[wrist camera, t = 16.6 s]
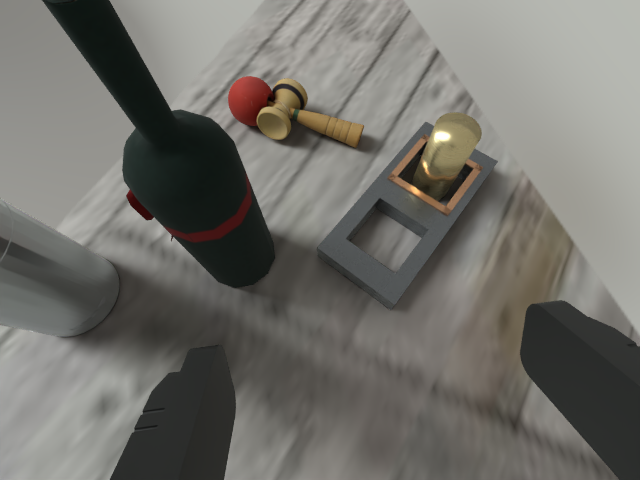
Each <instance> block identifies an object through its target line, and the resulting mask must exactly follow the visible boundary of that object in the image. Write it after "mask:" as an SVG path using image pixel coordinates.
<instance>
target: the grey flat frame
mask: <svg viewBox="0 0 640 480" xmlns="http://www.w3.org/2000/svg"><path fill="white" fill-rule="evenodd" d="M433 128H434V126H433V125H431V124H429V123H427V122H425V123H424V124H423V125H422V127H421V128H420V129H419V130H418V131H417V132H416V134H415V135H414V136H413V137H412V138H411V139H410V140H409V142H408V143H407V144H406V145H405V146H404V147H403V149H402V150H401V151H400V152H399V153H398V154H397V156H396V157H395V158H394V159H393V160H392V161H391V163H390V164H389V165H388V166H387V167H386V168H385V170H384V171H383V172H382V173H381V174H380V175H379V177H378V178H377V179H376V180H375V181H374V182H373V183H372V185H371V186H370V187H369V188H368V189H367V190H366V192H365V193H364V194H363V195H362V196H361V197H360V199H359V200H358V201H357V202H356V203H355V204H354V206H353V207H352V208H351V209H350V210H349V211H348V213H347V214H346V215H345V216H344V217H343V218H342V220H341V221H340V222H339V223H338V224H337V225H336V226H335V228H334V229H333V230H332V231H331V232H330V233H329V235H328V236H327V237H326V238H325V239H324V240H323V242H322V243H321V244H320V245H319V246H318V247H317V251H318V256H319V257H320V258H321V259H323V260H324V261H325V262H327V263H328V264H329V265H331V266H332V267H333V268H335V269H336V270H338V271H339V272H340V273H342V274H343V275H344V276H346V277H347V278H348V279H350V280H351V281H352V282H354V283H355V284H356V285H358V286H359V287H360V288H362V289H363V290H364V291H366V292H367V293H368V294H370V295H371V296H372V297H374V298H375V299H376V300H378V301H379V302H380V303H382V304H383V305H385V306H386V307H387V308H389V309H390V310H391V309H392V308H393V307H394V305H395V304H396V303H397V301H398V300H399V298H400V297H401V296H402V294H403V293H404V292H405V290H406V289H407V287H408V286H409V285H410V283H411V282H412V280H413V279H414V278H415V276H416V275H417V273H418V272H419V271H420V269H421V268H422V266H423V265H424V264H425V262H426V261H427V260H428V258H429V257H430V255H431V254H432V253H433V251H434V250H435V248H436V247H437V246H438V244H439V243H440V241H441V240H442V239H443V237H444V236H445V234H446V233H447V232H448V230H449V229H450V227H451V226H452V225H453V223H454V222H455V221H456V219H457V218H458V216H459V215H460V214H461V212H462V211H463V209H464V208H465V207H466V205H467V204H468V202H469V201H470V200H471V198H472V197H473V195H474V194H475V193H476V191H477V190H478V189H479V187H480V186H481V184H482V183H483V182H484V180H485V179H486V177H487V176H488V175H489V173H490V172H491V170H492V169H493V168H494V166H495V165H496V163H497V162H498V161H496V160H494V159H492V158H490V157H489V156H487V155H485V154H483V153H481V152H480V151H478V150H476V149H474V150H473V152H472V153H471V155H470V157H469V158H468V160H467V161H466V163H465V165H464V166H463V168H462V169H461V171H460V173H459V174H458V177H460V178H461V179H463V180H465V181H464V182H463V184H462V185H461V187H460V188H459V189H458V191H457V192H456V193H455V195H454V196H453V197H452V199H451V200H450V201H449V203H448V204H447V205H446V206H444V205H443V204H441V203H439V202H438V201H436V200H434V199H433V198H431V197H430V196H428V195H426V194H425V193H423V192H422V191H420V190H418V189H417V188H415V187H413V186H412V185H410V184H409V183H407V182H405V181H404V180H402V179H401V178H402V177H403V176H404V175H405V174H406V172H407V171H408V170H409V169H410V167H411V166H412V165H413V164H414V163H415V161H416V160H417V159H418V158H419V157H420V155H423V153H424V150H425V148H426V145H427V143H428V140H429V138H430V136H431V133H432V131H433ZM376 209H379V210H380V211H382V212H383V213H385V214H386V215H388V216H389V217H391V218H392V219H394V220H396V221H397V222H399V223H400V224H402V225H403V226H405V227H406V228H408V229H409V230H411V231H412V232H414V233H415V234H417V235H418V236H420V237H421V238H422V239H421V240H420V242H419V243H418V244H417V246H416V247H415V248H414V250H413V251H412V253H411V254H410V255H409V257H408V258H407V259H406V261H405V262H404V263H403V265H402V266H401V267H400V269H399V270H398V271H397V273H396V274H395V273H394V272H392V271H391V270H389V269H388V268H387V267H385V266H384V265H382V264H381V263H379V262H378V261H377V260H375V259H374V258H372V257H371V256H370V255H368V254H367V253H365V252H364V251H363V250H361V249H360V248H358V247H357V246H355V245H354V244H353V243H351V242H350V240H351V239H352V237H353V236H354V235H355V234H356V233H357V231H358V230H359V229H360V228H361V227H362V225H363V224H364V223H365V222H366V221H367V219H368V218H369V217H370V216H371V215H372V213H373V212H374V211H375V210H376Z"/></svg>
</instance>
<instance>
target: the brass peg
mask: <svg viewBox="0 0 640 480" xmlns="http://www.w3.org/2000/svg"><path fill="white" fill-rule="evenodd" d="M481 135H482V132H481V128H480V126H479V124H478V123H477V122H476V121H475V120H474V119H473V118H472V117H470V116H468V115H466V114H462V113H448V114H445V115H443V116H441V117H440V118H439V119H438V120H437V122H436V124H435V126H434V128H433V131H432V133H431V136H430V138H429V140H428V143H427V145H426V148H425V150H424V153H423V155H422V157H421V160H420V162H419V165H418V167H417V169H416V172H415V174H414V177H413V179H412V183H411V185H412V186H413V187H415V188H417V189H418V190H420V191H422V192H423V193H425V194H426V195H428V196H430V197H431V198H433V199H434V200H436V201H438V200H440V199H442V198H443V197H444V196H445V195H446V194H447V192H448V190H449V189H450V187H451V186H452V184H453V182H454V181H455V179H456V178H457V176H458V174H459V173H460V171H461V169H462V168H463V166H464V165H465V163H466V161H467V160H468V158H469V157H470V155H471V153H472V152H473V150H474V149H475V147H476V145H477V144H478V142H479V140H480V139H481Z"/></svg>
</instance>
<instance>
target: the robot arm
mask: <svg viewBox="0 0 640 480" xmlns="http://www.w3.org/2000/svg"><path fill="white" fill-rule="evenodd" d="M118 292H119V277H118V274H117V271H116V269H115V268H114V266H113V265H112V264H111V263H110V262H109V261H108V260H106V259H104V258H103V257H101V256H99V255H97V254H96V253H94V252H92V251H91V250H89V249H87V248H86V247H84V246H82V245H81V244H79V243H77V242H75V241H74V240H72V239H70V238H69V237H67V236H65V235H63V234H62V233H60V232H58V231H56V230H55V229H53V228H51V227H50V226H48V225H46V224H44V223H43V222H41V221H39V220H37V219H36V218H34V217H32V216H31V215H29V214H27V213H25V212H24V211H22V210H20V209H18V208H17V207H15V206H13V205H11V204H10V203H8V202H6V201H5V200H3V199H1V198H0V325H2V326H7V327H13V328H18V329H23V330H28V331H33V332H38V333H43V334H49V335H54V336H62V337H69V336H75V335H79V334H81V333H84V332H86V331H88V330H90V329H92V328H93V327H95V326H96V325H97V324H99V323H100V322H101V321H102V320H103V319H104V318H105V317H106V316H107V315H108V314H109V312H110V311H111V309H112V308H113V306H114V304H115V302H116V299H117V297H118ZM520 356H521V361H522V364H523V367H524V369H525V371H526V373H527V374H528V375H529V377H530V378H531V379H532V380H533V381H534V382H535V384H536V385H537V386H538V387H539V388H540V389H541V390H542V392H543V393H544V394H545V395H546V396H547V397H548V398H549V400H550V401H551V402H552V403H553V404H554V405H555V406H556V408H557V409H558V410H559V411H560V412H561V413H562V414H563V416H564V417H565V418H566V419H567V420H568V421H569V422H570V424H571V425H572V426H573V427H574V428H575V429H576V430H577V432H578V433H579V434H580V435H581V436H582V437H583V438H584V440H585V441H586V442H587V443H588V444H589V445H590V446H591V447H592V449H593V450H594V451H595V452H596V453H597V454H598V455H599V457H600V458H601V459H602V460H603V461H604V462H605V463H606V465H607V466H608V467H609V468H610V469H611V470H612V471H613V473H614V474H615V475H616V476H617V477H618V478H619V479H620V480H640V347H638V346H637V345H636V343H635V342H634V341H632V340H631V339H629V338H628V337H627V336H625V335H624V334H622V333H621V332H619V331H618V330H616V329H615V328H613V327H611V326H608V325H606V324H604V323H601V322H599V321H597V320H595V319H592V318H590V317H587V316H586V315H584V314H583V313H582V312H580V311H579V310H577V309H576V308H575V307H573V306H572V305H570V304H569V303H567V302H565V301H562V300H560V301H552V302H544V303H537V304H531V305H530V306H529V307H528V308H527V311H526V317H525V323H524V330H523V336H522V343H521V349H520ZM235 411H236V399H235V391H234V387H233V383H232V379H231V375H230V371H229V367H228V363H227V359H226V355H225V352H224V349H223V347H222V346H221V345H216V346H208V347H201V348H193V349H190V350H189V351H188V353H187V356H186V358H185V361H184V363H183V366H182V368H181V370H180V372H173V373H168V375H167V376H166V377H165V378H164V379H163V380H162V381H161V382H160V383H159V384H158V385H157V386H156V387H155V389H154V390H153V391H152V393H151V395H150V397H149V399H148V401H147V403H146V405H145V407H144V409H143V415H140V418H139V420H138V422H137V424H136V426H135V428H134V429H135V431H134V433H132V434H131V436H130V438H129V441H128V443H127V445H126V447H125V449H124V451H123V453H122V455H121V457H120V459H119V461H118V463H117V466H116V468H115V470H114V472H113V474H112V476H111V478H110V480H224V476H225V470H226V465H227V459H228V453H229V448H230V442H231V436H232V431H233V425H234V419H235Z"/></svg>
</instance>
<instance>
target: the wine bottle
mask: <svg viewBox="0 0 640 480" xmlns="http://www.w3.org/2000/svg"><path fill="white" fill-rule="evenodd" d="M42 1H43V2H44V3H45V5H46V6H47V8H48V9H49V10H50V12H51V13H52V14H53V16H54V17H55V18H56V19H57V21H58V22H59V24H60V25H61V26H62V28H63V29H64V31H65V32H66V33H67V35H68V36H69V37H70V39H71V40H72V42H73V43H74V44H75V46H76V47H77V48H78V50H79V51H80V52H81V54H82V55H83V56H84V58H85V59H86V61H87V62H88V63H89V65H90V66H91V67H92V69H93V70H94V71H95V73H96V74H97V76H98V77H99V78H100V80H101V81H102V82H103V83H104V85H105V86H106V88H107V89H108V90H109V92H110V93H111V95H112V96H113V97H114V99H115V100H116V101H117V102H118V104H119V105H120V107H121V108H122V110H123V111H124V112H125V114H126V115H127V116H128V118H129V119H130V120H131V122H132V123H133V125H134V126H135V127H136V129H135V130H134V131H133V133H132V134H131V135H130V137H129V138H128V140H127V141H126V144H125V147H124V155H123V169H122V171H123V177H124V181H125V183H126V184H127V186H128V187H129V188H130V190H129V192H128V194H127V195H126V197H127V199H128V201H129V203H130V205H131V206H132V207H133V208H134V209H135V210H136V211H137V212H138V213H139V214H140V215H141V216H142V217H143V218H145V219H146V220H152V219H153V218H154V217H155V218H156V219H157V220H158V221H159V222H160V223H161V224H162V225H163V226H164V227H165V229H166V230H167V231H168V232H169V233H170V234H171V235H172V238H171V241H172V239H173V237H174V238H175V239H176V240H177V241H178V242H179V243H180V244H181V245H182V246H183V247H184V248H185V249H186V250H187V251H188V252H189V253H190V254H191V255H192V256H193V257H194V258H195V259H196V260H197V261H198V262H199V263H200V264H201V265H202V266H203V267H204V268H205V269H206V270H207V271H208V272H209V273H210V274H211V275H212V276H213V277H214V278H215V279H216V280H217V281H218V282H220V283H223V284H226V285H228V286H231V287H234V288H237V287H242V286H248V285H253V284H255V283H256V282H257V281H258V280H260V279H261V278H262V277H264V276H265V275H266V274H268V272H269V269H270V267H271V265H272V263H273V261H274V258H275V254H274V246H273V240H272V238H271V235H270V233H269V230H268V228H267V225H266V223H265V220H264V217H263V215H262V212H261V210H260V207H259V205H258V202H257V199H256V197H255V194H254V192H253V189H252V187H251V184H250V182H249V179H248V176H247V174H246V171H245V169H244V166H243V164H242V161H241V158H240V156H239V153H238V151H237V148H236V146H235V143H234V141H233V140H232V139H231V138H230V137H229V135H228V134H227V133H226V132H225V131H224V130H223V129H222V128H221V127H220V126H219V124H217V123H216V122H215V121H213V120H212V119H211V118H208V117H205V116H201V115H198V114H194V113H191V112H188V111H184V110H174V111H171V109H170V108H169V106H168V104H167V102H166V100H165V99H164V97H163V95H162V93H161V91H160V90H159V88H158V86H157V84H156V83H155V81H154V79H153V77H152V75H151V74H150V72H149V70H148V68H147V67H146V65H145V63H144V61H143V60H142V58H141V57H140V54H139V52H138V51H137V49H136V47H135V45H134V44H133V42H132V40H131V38H130V36H129V35H128V33H127V31H126V29H125V27H124V26H123V24H122V22H121V20H120V19H119V17H118V15H117V13H116V12H115V10H114V8H113V6H112V4H111V3H110V1H109V0H42Z"/></svg>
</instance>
